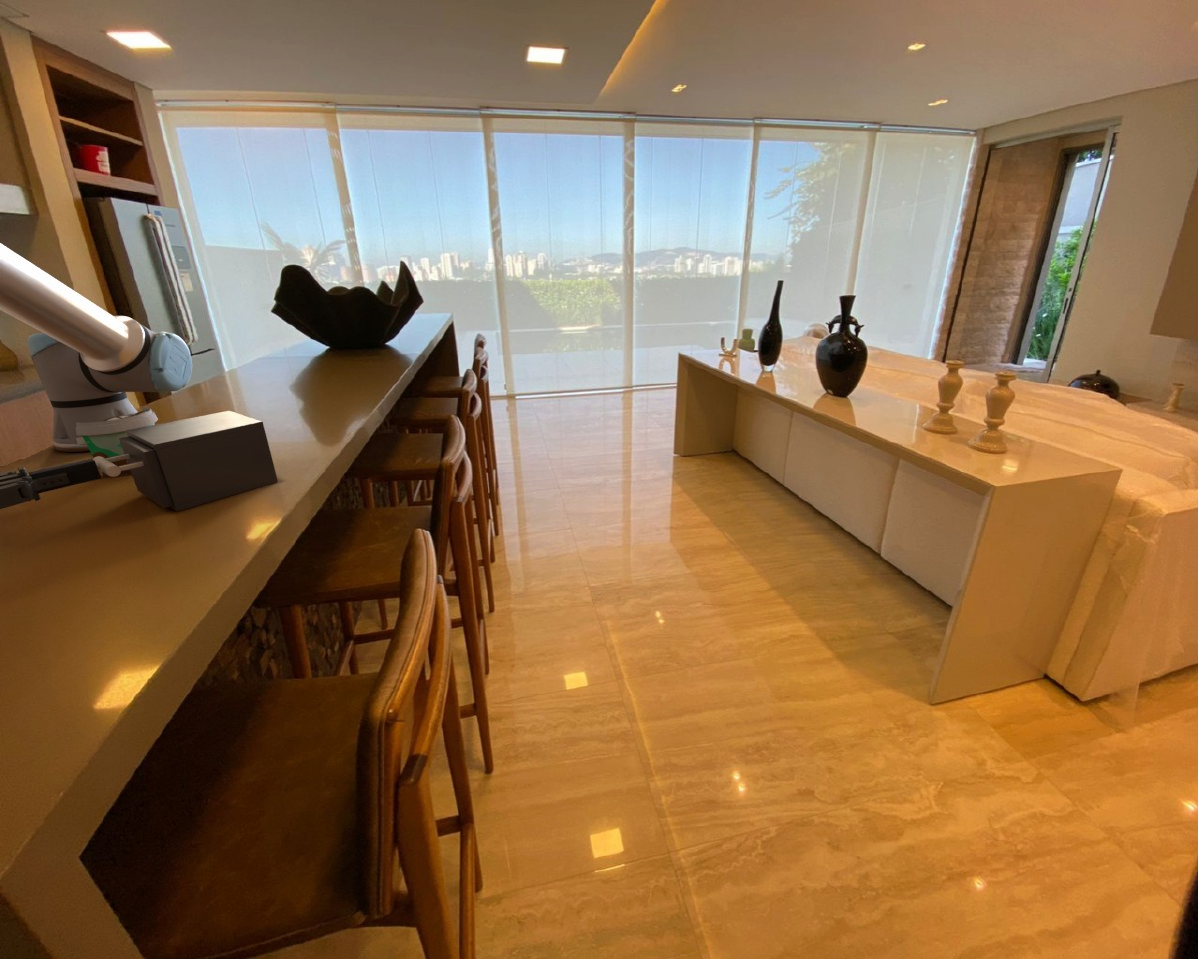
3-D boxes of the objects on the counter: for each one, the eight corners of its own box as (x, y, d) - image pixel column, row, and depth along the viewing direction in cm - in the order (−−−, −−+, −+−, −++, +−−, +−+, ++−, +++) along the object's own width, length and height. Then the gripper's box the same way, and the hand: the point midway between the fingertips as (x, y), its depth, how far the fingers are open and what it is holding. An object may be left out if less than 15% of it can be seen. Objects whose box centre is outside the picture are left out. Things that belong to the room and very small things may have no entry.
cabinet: (176, 511, 79) (154, 444, 75) (147, 493, 86) (125, 430, 82) (278, 481, 90) (262, 421, 86) (245, 466, 97) (229, 410, 93)
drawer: (127, 518, 75) (105, 460, 72) (103, 500, 81) (81, 445, 78) (260, 480, 88) (247, 429, 85) (231, 466, 94) (217, 418, 91)
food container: (122, 481, 91) (101, 425, 87) (94, 479, 92) (72, 423, 88) (187, 457, 102) (171, 407, 98) (161, 455, 103) (144, 405, 99)
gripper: (-166, 545, 63) (93, 483, 80) (-164, 579, 55) (120, 503, 73) (-203, 486, 60) (74, 435, 77) (-205, 515, 53) (100, 452, 70)
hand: (96, 468), depth 75 cm, fingers closed
